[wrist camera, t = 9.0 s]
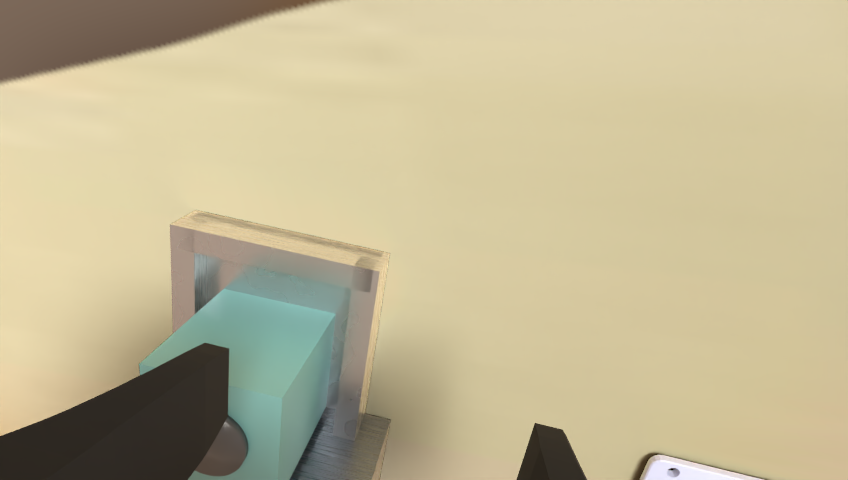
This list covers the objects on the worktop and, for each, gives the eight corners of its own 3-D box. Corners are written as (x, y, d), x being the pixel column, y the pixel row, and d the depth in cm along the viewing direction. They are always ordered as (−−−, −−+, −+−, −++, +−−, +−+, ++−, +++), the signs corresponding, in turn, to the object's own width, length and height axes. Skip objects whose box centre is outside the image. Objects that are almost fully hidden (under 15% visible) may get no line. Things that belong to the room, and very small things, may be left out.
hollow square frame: (419, 259, 21) (386, 341, 16) (372, 522, 27) (335, 648, 22) (141, 197, 22) (17, 254, 17) (155, 464, 28) (67, 571, 23)
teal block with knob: (325, 406, 24) (272, 514, 19) (223, 381, 24) (141, 480, 19) (335, 313, 22) (278, 404, 17) (223, 288, 22) (133, 369, 17)
